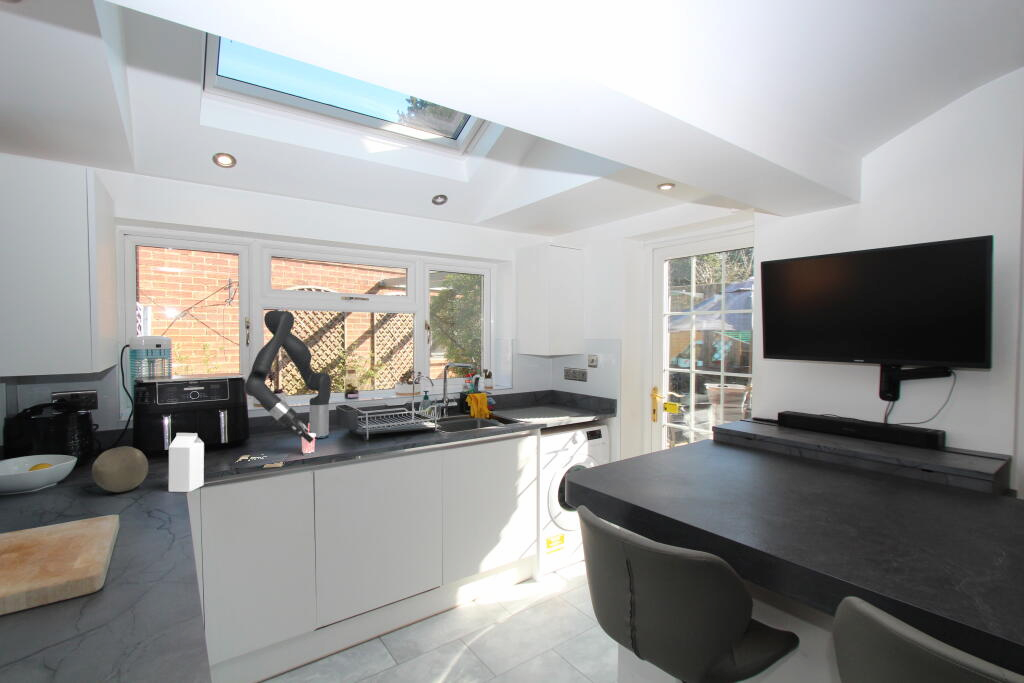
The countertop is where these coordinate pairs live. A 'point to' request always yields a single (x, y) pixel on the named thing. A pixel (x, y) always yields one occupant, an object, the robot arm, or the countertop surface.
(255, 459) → the oak board
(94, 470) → the cantaloupe
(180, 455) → the milk carton
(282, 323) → the robot arm
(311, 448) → the beverage cup
